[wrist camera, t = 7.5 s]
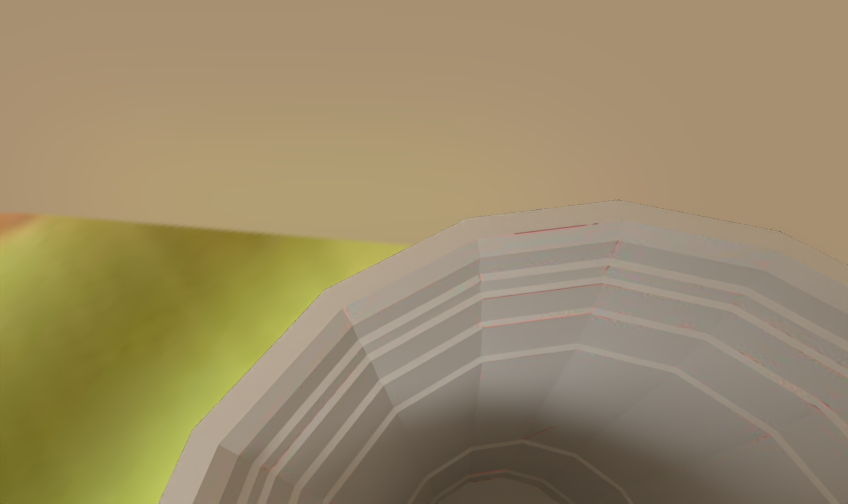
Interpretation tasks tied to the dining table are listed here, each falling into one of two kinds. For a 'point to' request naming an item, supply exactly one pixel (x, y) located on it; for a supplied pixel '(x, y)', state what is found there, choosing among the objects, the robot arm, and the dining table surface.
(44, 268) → the dining table surface
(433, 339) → the plastic cup
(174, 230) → the dining table surface
